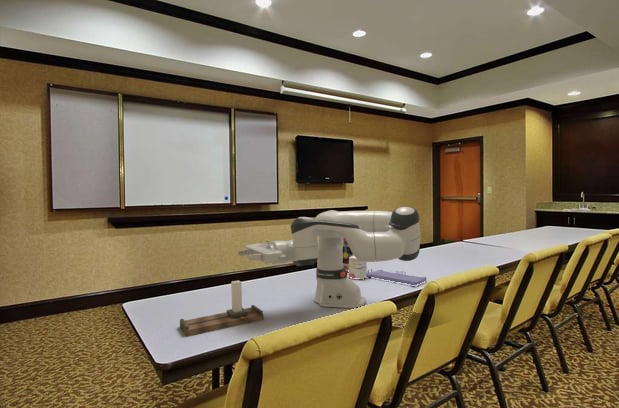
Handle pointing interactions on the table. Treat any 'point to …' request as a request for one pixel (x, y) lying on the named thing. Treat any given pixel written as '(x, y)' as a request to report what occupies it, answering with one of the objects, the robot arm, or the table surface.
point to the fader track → (219, 321)
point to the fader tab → (236, 301)
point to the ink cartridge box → (357, 268)
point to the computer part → (396, 277)
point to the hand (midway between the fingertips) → (243, 255)
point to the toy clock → (346, 254)
